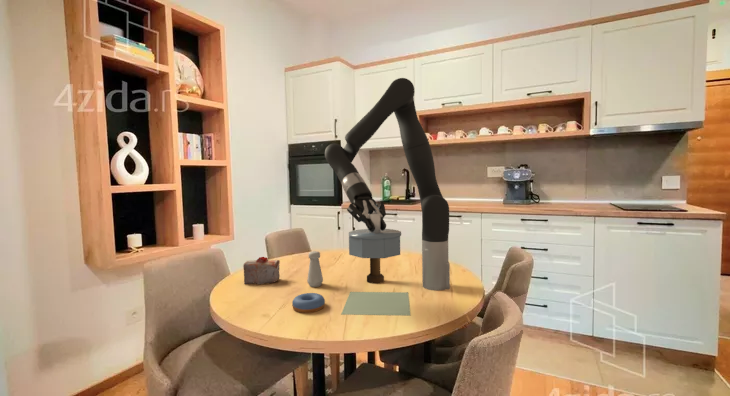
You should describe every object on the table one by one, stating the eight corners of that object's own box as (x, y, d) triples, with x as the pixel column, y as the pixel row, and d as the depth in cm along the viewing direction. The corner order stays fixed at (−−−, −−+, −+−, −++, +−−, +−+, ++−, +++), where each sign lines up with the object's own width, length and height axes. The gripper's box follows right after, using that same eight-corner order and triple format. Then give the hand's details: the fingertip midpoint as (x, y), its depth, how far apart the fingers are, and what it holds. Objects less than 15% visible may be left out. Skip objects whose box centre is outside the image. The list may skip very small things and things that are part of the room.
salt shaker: (324, 284, 131) (323, 250, 130) (321, 288, 125) (320, 253, 125) (309, 283, 132) (308, 250, 131) (305, 288, 126) (304, 253, 125)
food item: (282, 278, 140) (281, 254, 139) (278, 284, 132) (277, 258, 132) (248, 279, 139) (247, 255, 139) (241, 285, 131) (240, 260, 131)
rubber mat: (408, 293, 118) (408, 292, 118) (410, 316, 99) (410, 315, 99) (350, 292, 120) (350, 291, 120) (341, 315, 100) (341, 314, 100)
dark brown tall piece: (386, 280, 134) (385, 234, 133) (381, 285, 128) (380, 237, 127) (369, 278, 137) (369, 233, 136) (364, 283, 131) (363, 236, 130)
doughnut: (310, 316, 100) (310, 300, 100) (285, 312, 105) (285, 296, 105) (331, 308, 108) (331, 293, 108) (307, 304, 113) (307, 290, 114)
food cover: (401, 247, 116) (400, 211, 115) (401, 258, 100) (401, 216, 99) (352, 247, 118) (351, 211, 117) (345, 258, 101) (344, 217, 100)
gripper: (342, 181, 109) (364, 224, 100) (377, 180, 117) (401, 219, 108) (334, 198, 114) (355, 239, 105) (369, 196, 122) (391, 234, 113)
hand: (378, 229), depth 107 cm, fingers closed on food cover, 3 cm apart
